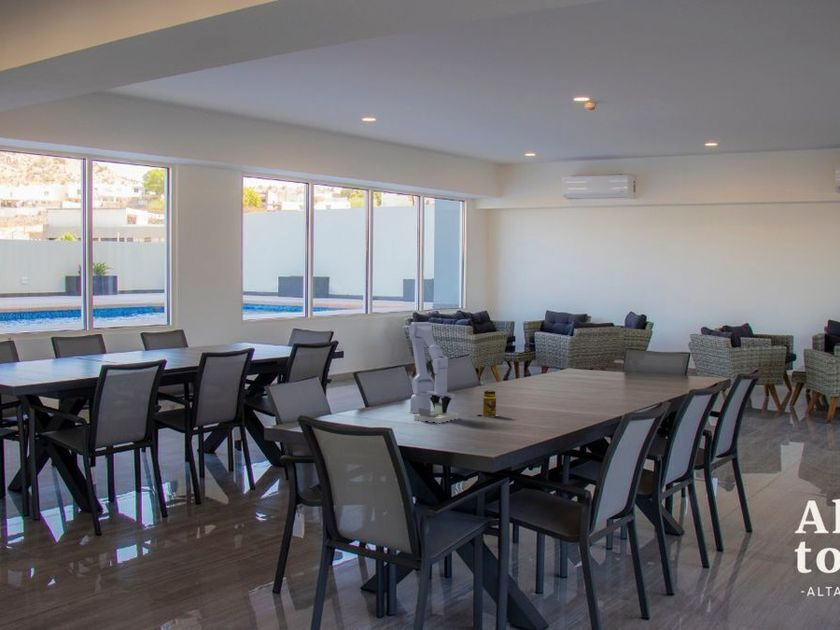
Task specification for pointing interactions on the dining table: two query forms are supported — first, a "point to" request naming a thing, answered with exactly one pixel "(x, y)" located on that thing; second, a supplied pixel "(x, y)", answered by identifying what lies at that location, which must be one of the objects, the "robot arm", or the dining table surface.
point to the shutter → (427, 412)
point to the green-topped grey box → (439, 408)
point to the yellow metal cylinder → (489, 404)
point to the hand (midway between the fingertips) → (440, 412)
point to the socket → (437, 417)
